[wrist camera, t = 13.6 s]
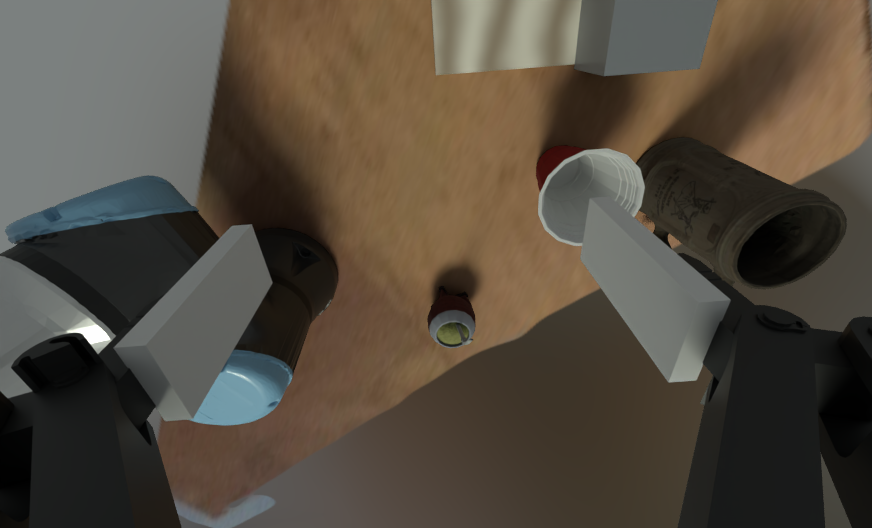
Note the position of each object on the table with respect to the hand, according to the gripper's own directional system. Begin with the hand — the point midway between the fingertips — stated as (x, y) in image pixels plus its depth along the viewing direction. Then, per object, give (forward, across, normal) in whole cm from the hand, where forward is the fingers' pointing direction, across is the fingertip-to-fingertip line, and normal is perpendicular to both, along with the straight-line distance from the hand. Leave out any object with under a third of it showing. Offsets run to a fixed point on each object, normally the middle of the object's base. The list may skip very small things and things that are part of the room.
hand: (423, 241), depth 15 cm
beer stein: (+35, -32, +14) cm, 49 cm away
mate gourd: (+35, -2, +29) cm, 45 cm away
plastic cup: (+35, -17, +9) cm, 40 cm away
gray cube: (+34, -22, -7) cm, 41 cm away
